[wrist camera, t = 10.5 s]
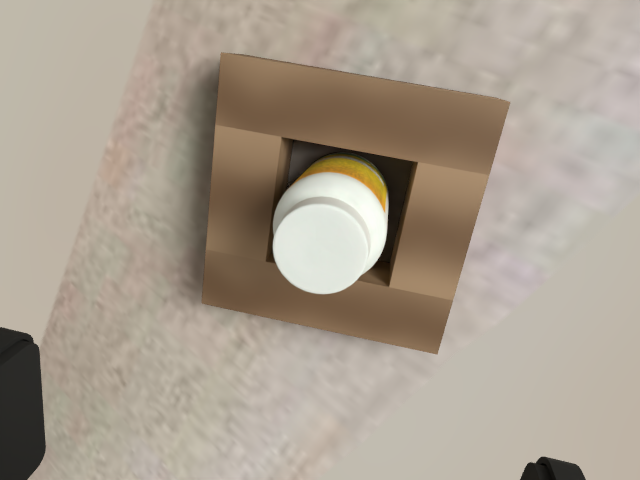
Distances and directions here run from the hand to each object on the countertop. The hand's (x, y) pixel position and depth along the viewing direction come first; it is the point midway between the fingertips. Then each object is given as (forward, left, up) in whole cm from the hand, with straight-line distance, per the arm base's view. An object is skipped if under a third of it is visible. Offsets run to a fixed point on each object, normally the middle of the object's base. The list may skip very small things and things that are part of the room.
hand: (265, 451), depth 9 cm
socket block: (+1, 0, -21) cm, 21 cm away
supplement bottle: (0, 0, -21) cm, 21 cm away
